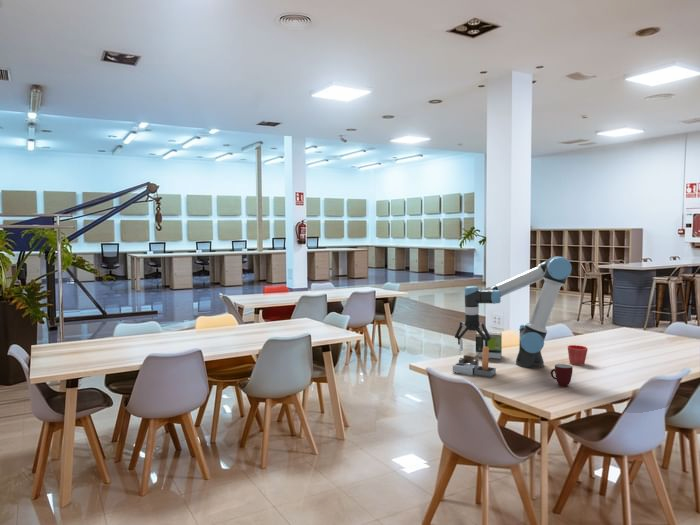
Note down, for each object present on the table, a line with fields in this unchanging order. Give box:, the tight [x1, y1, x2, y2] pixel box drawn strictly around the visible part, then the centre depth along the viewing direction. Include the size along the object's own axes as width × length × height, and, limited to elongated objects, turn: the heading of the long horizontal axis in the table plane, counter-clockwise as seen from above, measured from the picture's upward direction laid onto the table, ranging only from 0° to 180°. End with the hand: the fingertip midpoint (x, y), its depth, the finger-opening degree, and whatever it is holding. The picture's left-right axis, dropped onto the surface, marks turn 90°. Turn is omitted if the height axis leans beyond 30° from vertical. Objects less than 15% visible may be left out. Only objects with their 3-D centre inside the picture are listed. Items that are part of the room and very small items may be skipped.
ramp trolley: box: [452, 357, 480, 376], centre depth 283 cm, size 11×13×6 cm
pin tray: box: [473, 365, 497, 378], centre depth 276 cm, size 9×9×3 cm
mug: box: [550, 363, 573, 388], centre depth 256 cm, size 11×8×10 cm
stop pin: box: [481, 347, 490, 371], centre depth 276 cm, size 3×3×14 cm
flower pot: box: [567, 344, 588, 366], centre depth 300 cm, size 11×11×10 cm
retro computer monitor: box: [475, 331, 503, 359], centre depth 317 cm, size 15×10×15 cm
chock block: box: [463, 352, 479, 364], centre depth 293 cm, size 6×8×7 cm
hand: (472, 351), depth 293 cm, fingers open, 13 cm apart
